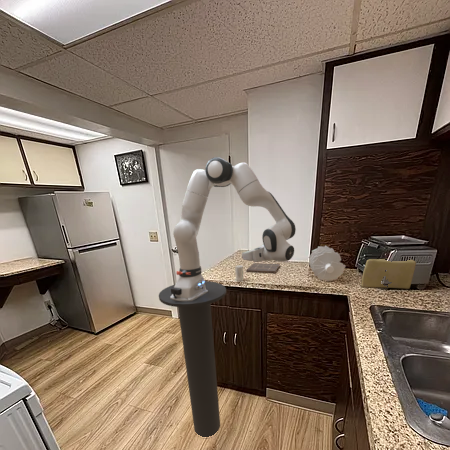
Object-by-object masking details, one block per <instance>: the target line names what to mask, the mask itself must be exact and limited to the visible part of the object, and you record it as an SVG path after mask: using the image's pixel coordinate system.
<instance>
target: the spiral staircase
mask: <svg viewBox="0 0 450 450" xmlns="http://www.w3.org/2000/svg"><path fill="white" fill-rule="evenodd" d="M308 259H309V260H308V265H309V268H310V269H311V272H312V273H313V276H314V277H317V278H318V279H319V280H320V281H326V282H330V281H334V280H338V278H339V277H340V276H342V275H343V274H344V270H345V269H346V265H345V264H344V263H342V262H341V261H342V257H341V255H340V253H339V252H336V251H335V250H334V249H333V247H329V246H327V245H324V246H319V245H318V246H317V248H315V249H313V250H311V253H310V254H309V256H308Z"/></svg>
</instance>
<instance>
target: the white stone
mask: <svg viewBox="0 0 450 450" xmlns="http://www.w3.org/2000/svg"><path fill="white" fill-rule="evenodd" d="M234 269H235V271H234V273H235V282H243V281H244V278H245V277H244V265H240V264H239V265H235V266H234Z"/></svg>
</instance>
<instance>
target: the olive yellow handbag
mask: <svg viewBox="0 0 450 450" xmlns="http://www.w3.org/2000/svg"><path fill="white" fill-rule="evenodd" d="M385 259H386V258H369V259H367V260H366V262H365V265H364V268H363V272H362V277H361V283H360V286H361V287H362V288H378V289H379V288H380V289H381V288H383V289H400V290H401V289H402V290H403V289H404V290H409V289H411V285H412V282H413V278H414V274H415V269H416V265H417V262H416V260H413V259H411V260H407V261H392V262H391V261H387V260H385ZM385 270H387V271H386V272H385ZM384 276H386V280H387V279H388V281H389V282H392V283H391V284H388V287H387V286H384V285H383V284H381V281H382V279H383V277H384Z"/></svg>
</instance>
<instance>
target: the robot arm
mask: <svg viewBox="0 0 450 450" xmlns="http://www.w3.org/2000/svg"><path fill="white" fill-rule="evenodd" d="M230 185H232V186H233V187H234V189H235V191H236V193H237V195H238V196H239V198H240V200H241V201H242V203H243V204H244V205H246V206H249V207H261V208H264V209H266V210H267V211H268V213H269V214H270V216H271V217H272V218H273V220H274V221H275V224H273V225H271V226H269V227H268V228H266V229H264V231H263V233H262V237H261V238H262V244H261V245H260V246H258V247H256V248H253V249H250V250H247V251H243V252H241V257H242V260H244V261H249V262H254V263H261V262H273V261H274V262H279V263H280V262H281V263H283V262H289V261H290V260H291V259H293V257H294V254H295V247H294V246H293V244H292V245H291V244H290V243H289V242H288V241H287V240H290V239H292V238H294V236H295V235H296V231H297V229H296V224H295V222H294V221H293V220H292V219H291V218H290V217H289V216H288V215H287V214H286V212H285V211H284V209H283V208H282V206H281V205H280V203H279V201H277V199H276V197H274V195H273V194H272V193H271V192H270V191H268V190H267V189H265V188H264V186H263V185H262V184H261V182H260V181H259V178H258V176H257V175H256V173H255V172H254V171H253V169H252V168H251V167H250V165H249V164H248V163H246V162H239V163H237V164H235V165H233V164H232V163H231V162H228V161H227V160H226V159H224V158H223V157H217V156H216V157H212V158H210V159H209V160H208V161H207V162H206V164H205V169H202V168H197V169H195V170H193V172H192V174H191V176H190V178H189V181H188V184H187V187H186V190H185V194H184V197H183V200H182V204H181V213H180V218H179V222H177V224H175V226H174V227H173V233H172V235H173V238H174V242H175V246H176V250H177V254H178V261H179V270H177V271H176V275H177V276H178V278H177V280H176V282H175V284H174V285H175V286H174V288H172V289H171V294H172V295H171V297H170V299H172V300H176V301H193V300H195V299H197V298H198V297H200V296H202V295H204V294H206V293H208V290H206V287H205V281H206V280H205V277H204V276H203V275H202V266H201V261H200V260H201V259H200V252H199V246H198V242H197V236H198V235H199V230H200V226H201V223H202V220H203V215H204V213H205V208H206V206H207V201H208V198H209V195H210V192H211V190H212V188H213V187H215V188H225V187H229V186H230Z"/></svg>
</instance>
